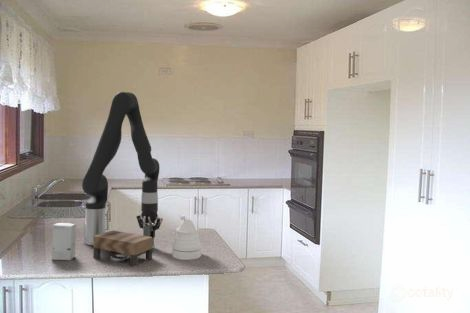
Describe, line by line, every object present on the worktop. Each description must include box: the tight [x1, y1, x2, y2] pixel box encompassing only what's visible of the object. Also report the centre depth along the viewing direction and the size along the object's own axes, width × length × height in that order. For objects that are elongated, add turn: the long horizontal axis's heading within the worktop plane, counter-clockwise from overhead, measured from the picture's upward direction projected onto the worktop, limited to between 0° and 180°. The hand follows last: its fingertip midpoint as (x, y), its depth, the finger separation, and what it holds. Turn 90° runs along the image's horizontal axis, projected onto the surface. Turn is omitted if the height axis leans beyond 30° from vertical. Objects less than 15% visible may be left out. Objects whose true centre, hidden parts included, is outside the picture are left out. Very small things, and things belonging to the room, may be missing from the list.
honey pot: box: [171, 214, 202, 261], centre depth 207 cm, size 13×13×18 cm
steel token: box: [110, 254, 126, 263], centre depth 198 cm, size 6×6×2 cm
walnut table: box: [93, 230, 153, 267], centre depth 200 cm, size 22×12×10 cm, turn 63°
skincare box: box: [51, 222, 77, 261], centre depth 198 cm, size 8×6×15 cm
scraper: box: [119, 225, 156, 260], centre depth 209 cm, size 20×4×10 cm, turn 154°
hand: (149, 237), depth 217 cm, fingers closed on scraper, 3 cm apart
